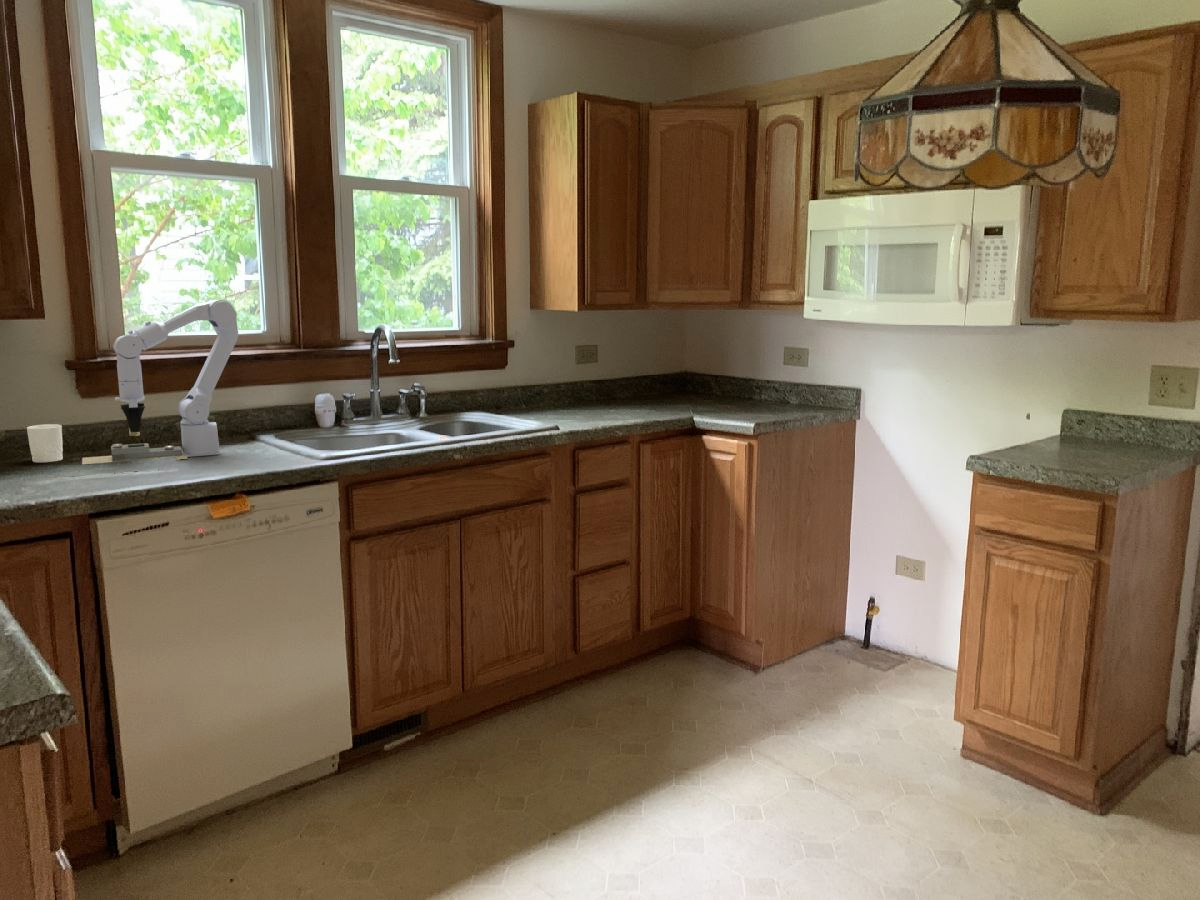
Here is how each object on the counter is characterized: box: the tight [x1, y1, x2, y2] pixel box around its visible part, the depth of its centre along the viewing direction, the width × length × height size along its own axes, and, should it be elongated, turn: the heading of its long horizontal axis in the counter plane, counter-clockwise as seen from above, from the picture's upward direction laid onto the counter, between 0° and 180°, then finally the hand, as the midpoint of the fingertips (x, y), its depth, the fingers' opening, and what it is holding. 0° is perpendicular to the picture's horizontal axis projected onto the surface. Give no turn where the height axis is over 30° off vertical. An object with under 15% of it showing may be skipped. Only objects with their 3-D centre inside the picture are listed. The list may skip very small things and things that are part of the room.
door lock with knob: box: [81, 442, 189, 465], centre depth 245 cm, size 25×10×5 cm, turn 119°
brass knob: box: [128, 428, 141, 437], centre depth 243 cm, size 3×3×7 cm
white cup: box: [26, 423, 64, 463], centre depth 240 cm, size 8×8×10 cm
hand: (134, 431), depth 244 cm, fingers closed on brass knob, 3 cm apart
